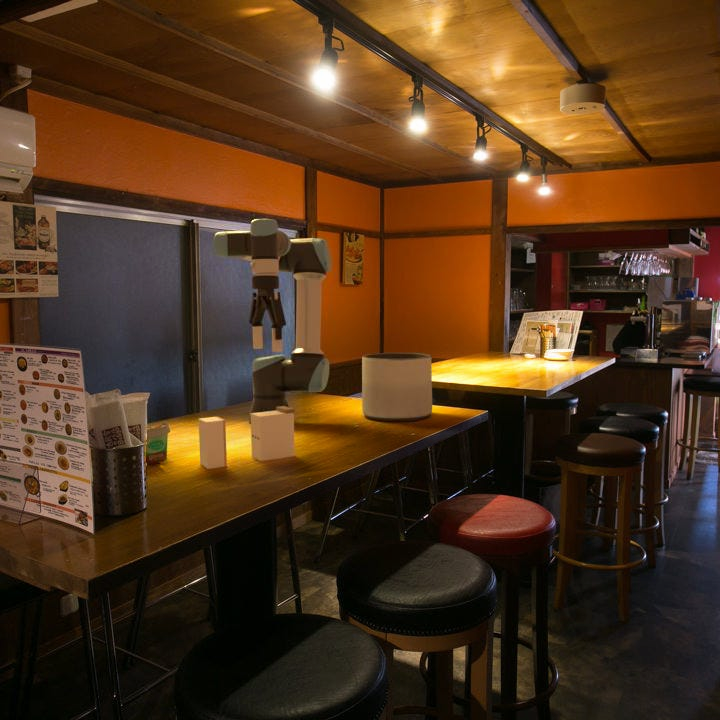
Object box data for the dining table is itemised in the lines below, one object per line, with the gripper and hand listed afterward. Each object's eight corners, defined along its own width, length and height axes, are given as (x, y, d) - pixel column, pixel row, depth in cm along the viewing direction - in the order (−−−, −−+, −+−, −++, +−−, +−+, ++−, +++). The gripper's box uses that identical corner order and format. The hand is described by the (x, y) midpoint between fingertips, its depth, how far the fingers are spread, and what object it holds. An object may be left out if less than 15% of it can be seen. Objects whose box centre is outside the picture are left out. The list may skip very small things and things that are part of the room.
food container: (145, 469, 172) (143, 431, 171) (129, 466, 175) (127, 429, 174) (181, 459, 182) (179, 423, 181) (165, 456, 186) (164, 421, 185)
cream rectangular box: (251, 456, 181) (250, 409, 180) (285, 451, 187) (283, 406, 185) (260, 461, 176) (259, 412, 175) (294, 456, 181) (293, 409, 180)
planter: (446, 417, 240) (446, 355, 237) (390, 425, 225) (389, 360, 223) (403, 407, 260) (402, 351, 258) (348, 415, 246) (347, 355, 244)
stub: (200, 464, 174) (198, 418, 173) (218, 461, 177) (217, 416, 175) (208, 469, 169) (206, 422, 168) (226, 466, 171) (225, 419, 170)
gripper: (236, 276, 197) (238, 348, 199) (271, 273, 176) (273, 353, 178) (260, 276, 201) (262, 346, 203) (297, 273, 180) (298, 352, 182)
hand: (267, 350), depth 190 cm, fingers open, 13 cm apart
